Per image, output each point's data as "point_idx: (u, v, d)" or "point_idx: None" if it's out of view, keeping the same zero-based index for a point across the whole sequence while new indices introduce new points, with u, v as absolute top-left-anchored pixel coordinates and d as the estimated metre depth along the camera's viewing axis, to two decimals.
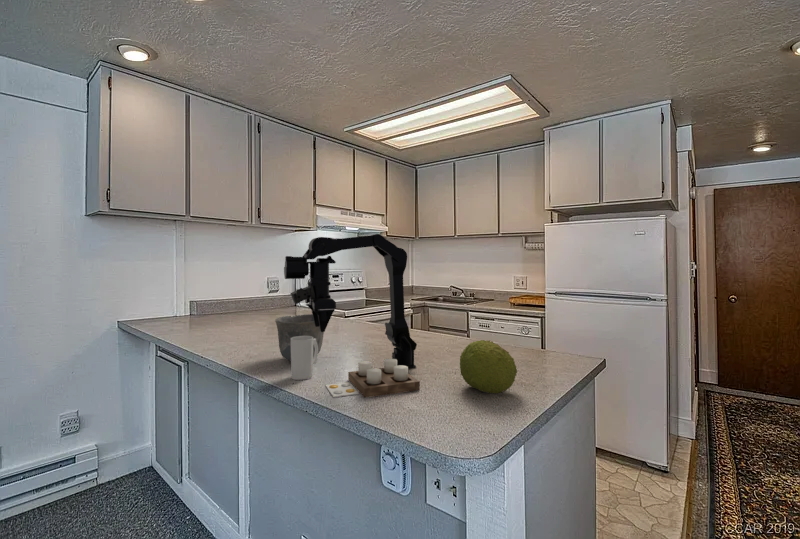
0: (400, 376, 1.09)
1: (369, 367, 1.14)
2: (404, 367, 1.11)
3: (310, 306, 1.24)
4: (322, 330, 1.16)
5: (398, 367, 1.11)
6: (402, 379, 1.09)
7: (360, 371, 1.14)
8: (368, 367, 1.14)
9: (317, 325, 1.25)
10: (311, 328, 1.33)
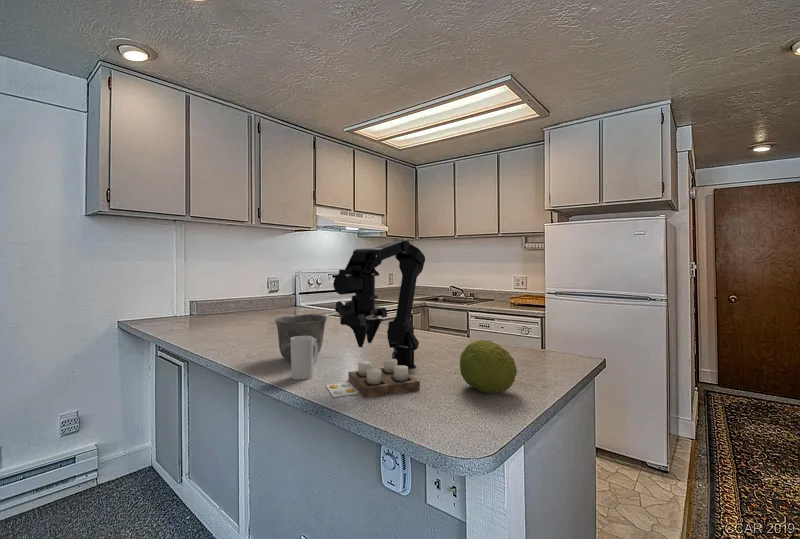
0: (400, 376, 1.09)
1: (369, 367, 1.14)
2: (404, 367, 1.11)
3: None
4: (359, 345, 1.12)
5: (398, 367, 1.11)
6: (402, 379, 1.09)
7: (360, 371, 1.14)
8: (368, 367, 1.14)
9: (369, 341, 1.18)
10: (311, 328, 1.33)
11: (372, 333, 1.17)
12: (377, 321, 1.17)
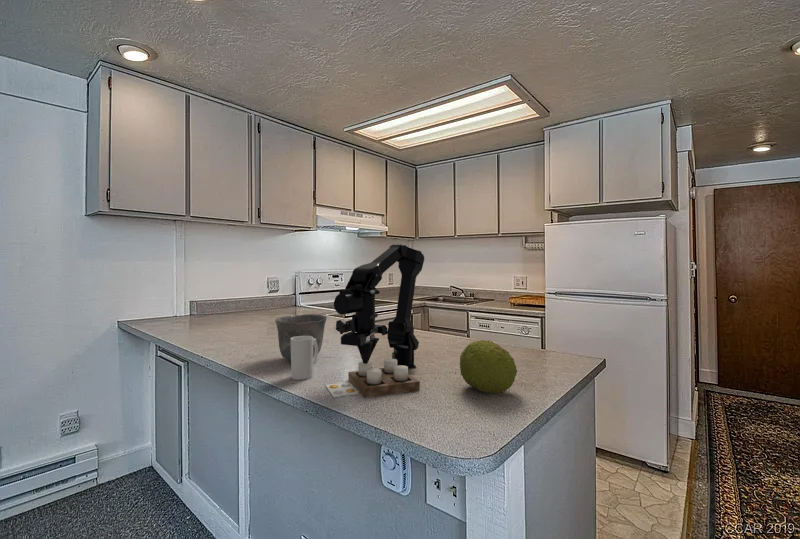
0: (400, 376, 1.09)
1: (369, 367, 1.14)
2: (404, 367, 1.11)
3: None
4: (364, 362, 1.15)
5: (398, 367, 1.11)
6: (402, 379, 1.09)
7: (360, 371, 1.14)
8: (368, 367, 1.14)
9: None
10: (311, 328, 1.33)
11: None
12: (373, 341, 1.15)
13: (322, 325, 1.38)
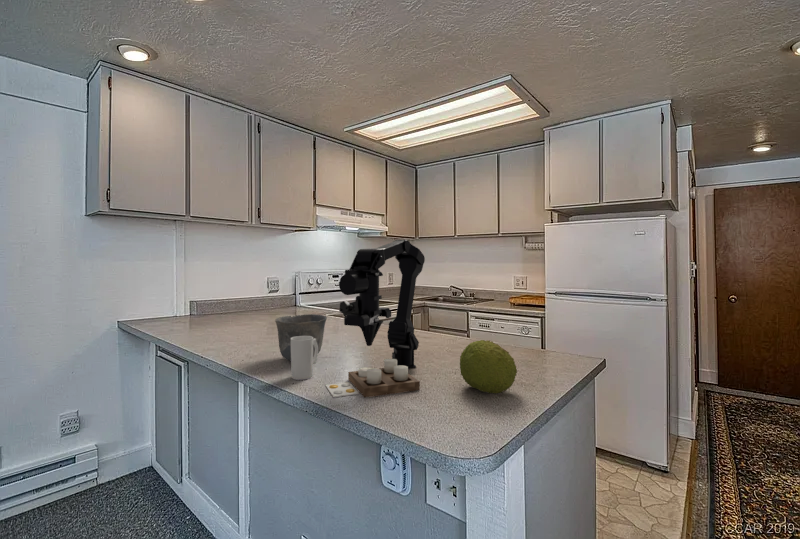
0: (400, 376, 1.09)
1: None
2: (404, 367, 1.11)
3: None
4: (368, 344, 1.14)
5: (398, 367, 1.11)
6: (402, 379, 1.09)
7: None
8: None
9: None
10: (311, 328, 1.33)
11: None
12: (377, 323, 1.14)
13: (322, 325, 1.38)
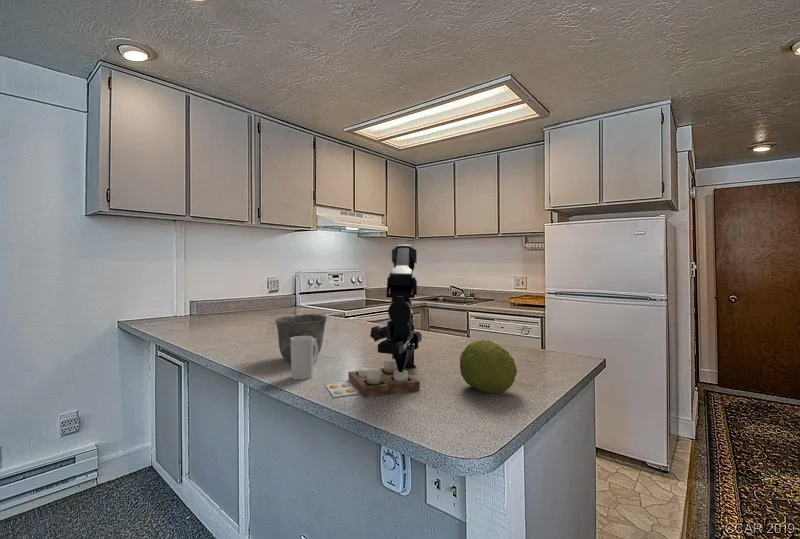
0: (400, 381, 1.09)
1: None
2: (404, 372, 1.11)
3: None
4: (399, 370, 1.11)
5: (398, 372, 1.11)
6: None
7: None
8: None
9: None
10: (311, 328, 1.33)
11: None
12: (409, 348, 1.11)
13: (322, 325, 1.38)
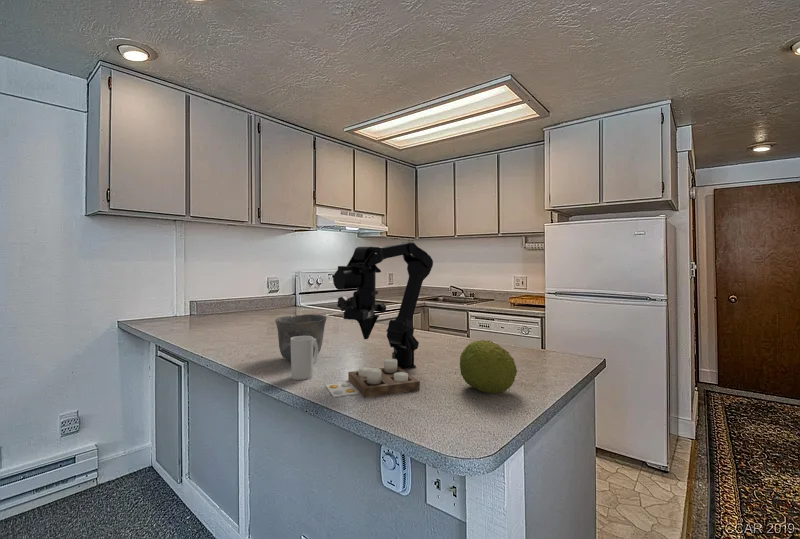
0: None
1: None
2: (404, 374, 1.11)
3: None
4: (365, 337, 1.19)
5: (398, 374, 1.11)
6: None
7: None
8: None
9: None
10: (311, 328, 1.33)
11: None
12: (374, 317, 1.19)
13: (322, 325, 1.38)
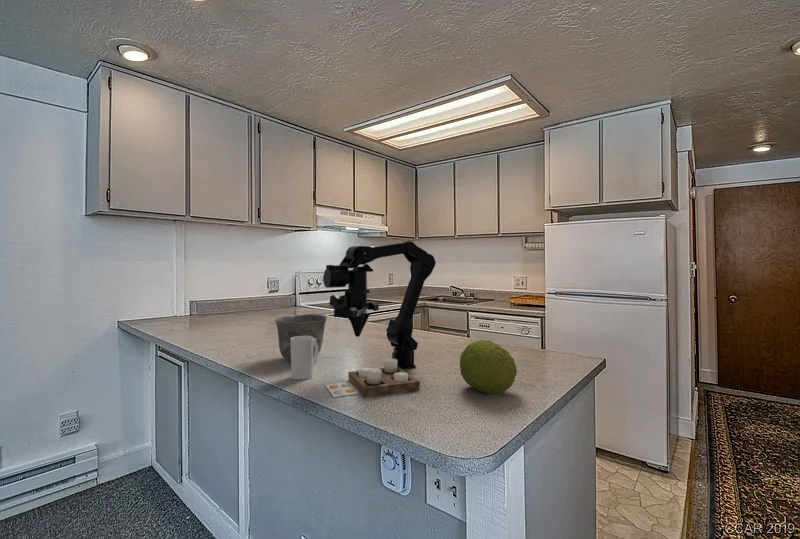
0: None
1: None
2: (404, 374, 1.11)
3: None
4: (356, 335, 1.22)
5: (398, 374, 1.11)
6: None
7: None
8: None
9: None
10: (311, 328, 1.33)
11: None
12: (365, 315, 1.22)
13: (322, 325, 1.38)
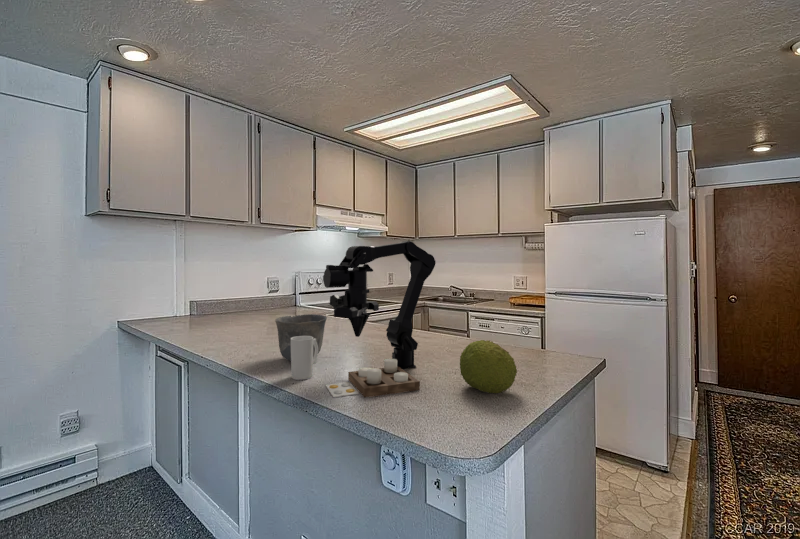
0: None
1: None
2: (404, 374, 1.11)
3: None
4: (356, 335, 1.22)
5: (398, 374, 1.11)
6: None
7: None
8: None
9: None
10: (311, 328, 1.33)
11: None
12: (365, 315, 1.22)
13: (322, 325, 1.38)
